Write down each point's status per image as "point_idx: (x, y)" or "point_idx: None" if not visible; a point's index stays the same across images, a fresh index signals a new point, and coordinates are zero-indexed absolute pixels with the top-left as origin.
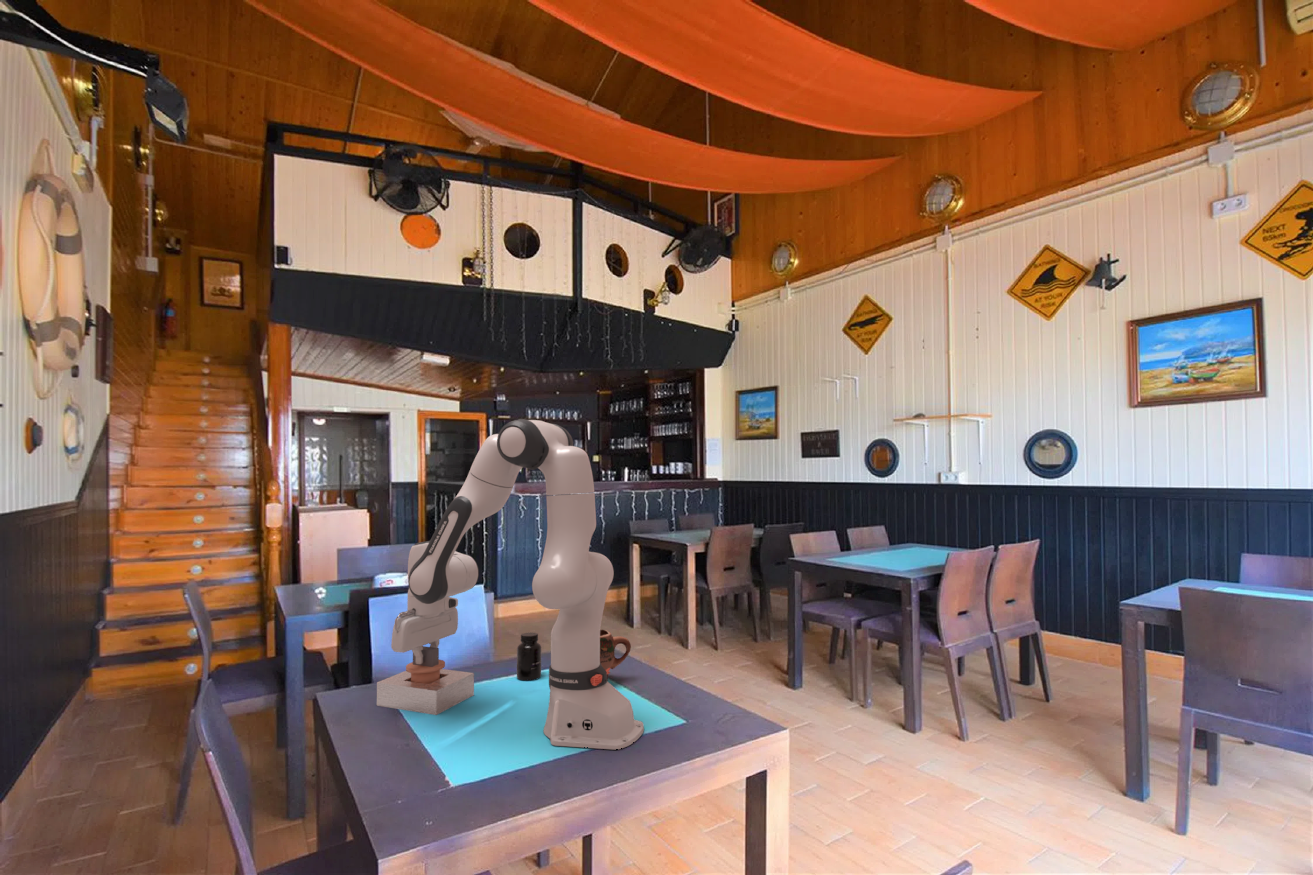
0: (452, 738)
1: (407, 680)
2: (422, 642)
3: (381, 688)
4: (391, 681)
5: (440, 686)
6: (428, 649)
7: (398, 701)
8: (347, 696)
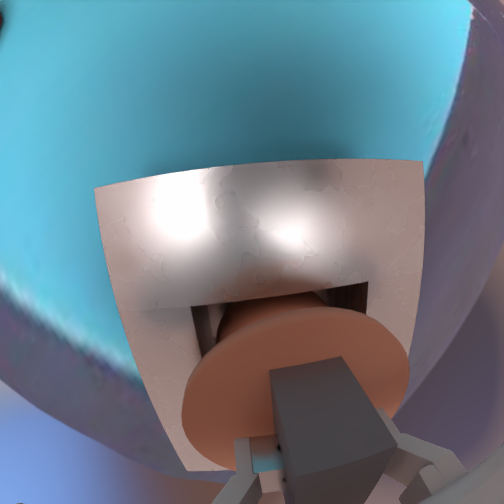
0: (406, 54)
1: None
2: (485, 486)
3: None
4: None
5: (374, 187)
6: (368, 477)
7: None
8: None
